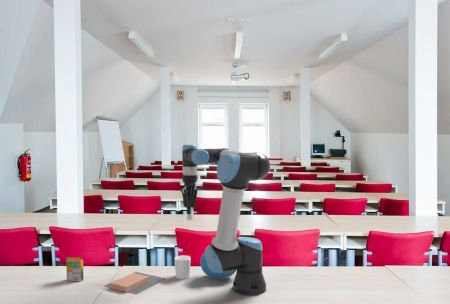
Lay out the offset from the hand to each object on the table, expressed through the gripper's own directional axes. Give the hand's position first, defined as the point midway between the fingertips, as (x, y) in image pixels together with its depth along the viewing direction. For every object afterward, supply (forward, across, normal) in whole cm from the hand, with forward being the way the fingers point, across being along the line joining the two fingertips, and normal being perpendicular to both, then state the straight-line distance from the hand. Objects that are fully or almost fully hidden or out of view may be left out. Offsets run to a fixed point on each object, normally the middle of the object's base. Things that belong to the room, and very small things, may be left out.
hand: (190, 219), depth 206 cm
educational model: (+27, +2, +19) cm, 33 cm away
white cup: (+27, +11, +3) cm, 29 cm away
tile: (+25, +24, -12) cm, 37 cm away
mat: (+26, +28, -12) cm, 40 cm away
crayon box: (+27, +39, -41) cm, 63 cm away
